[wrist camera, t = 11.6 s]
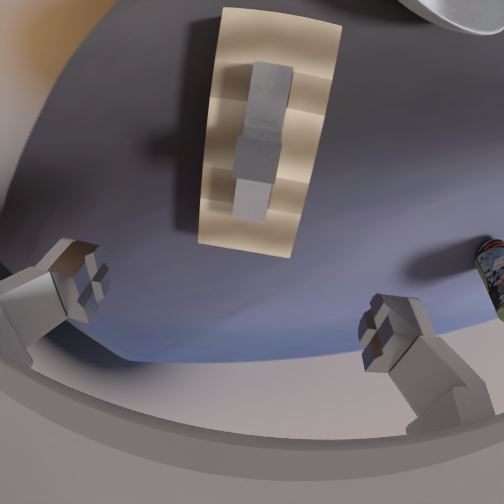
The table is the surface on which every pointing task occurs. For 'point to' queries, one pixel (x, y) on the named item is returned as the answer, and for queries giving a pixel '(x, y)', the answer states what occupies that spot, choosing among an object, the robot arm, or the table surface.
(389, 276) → the table surface
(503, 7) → the cereal bowl
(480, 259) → the beverage can
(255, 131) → the gray u-shaped bracket
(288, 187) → the beige flat rectangular block
